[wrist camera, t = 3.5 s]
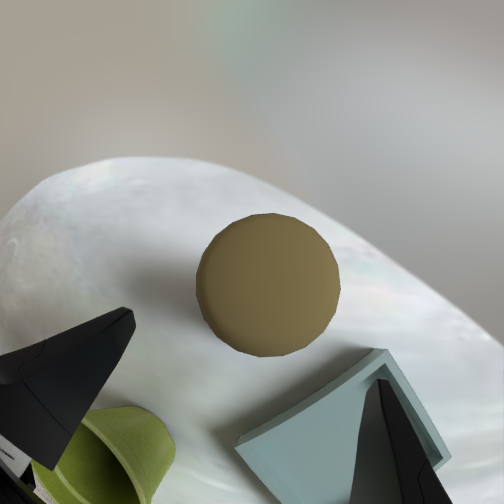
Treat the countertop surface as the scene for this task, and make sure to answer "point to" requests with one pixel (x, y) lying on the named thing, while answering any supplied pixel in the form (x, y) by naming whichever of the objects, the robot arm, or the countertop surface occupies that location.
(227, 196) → the countertop surface
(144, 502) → the plant pot
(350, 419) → the tray
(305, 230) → the cork
